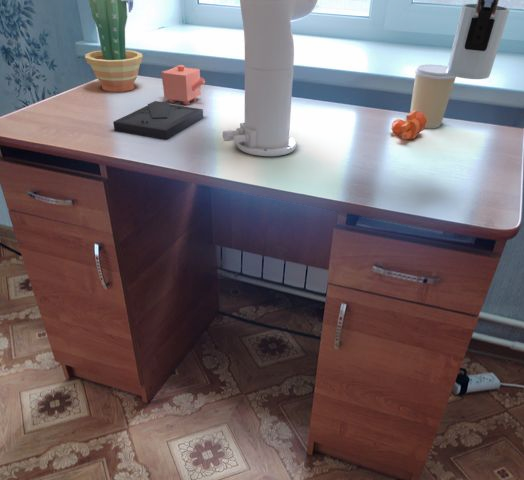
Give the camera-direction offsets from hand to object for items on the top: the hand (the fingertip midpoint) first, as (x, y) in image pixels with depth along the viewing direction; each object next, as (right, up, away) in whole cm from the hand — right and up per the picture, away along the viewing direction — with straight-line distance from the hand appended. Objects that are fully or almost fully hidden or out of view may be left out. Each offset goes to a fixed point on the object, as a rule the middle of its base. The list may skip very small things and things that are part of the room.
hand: (475, 44), depth 79 cm
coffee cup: (+7, +8, +46) cm, 47 cm away
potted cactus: (-74, +26, +62) cm, 100 cm away
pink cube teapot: (-54, +18, +54) cm, 78 cm away
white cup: (0, -3, +3) cm, 4 cm away
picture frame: (-57, +5, +39) cm, 70 cm away
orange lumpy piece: (0, +1, +38) cm, 38 cm away
